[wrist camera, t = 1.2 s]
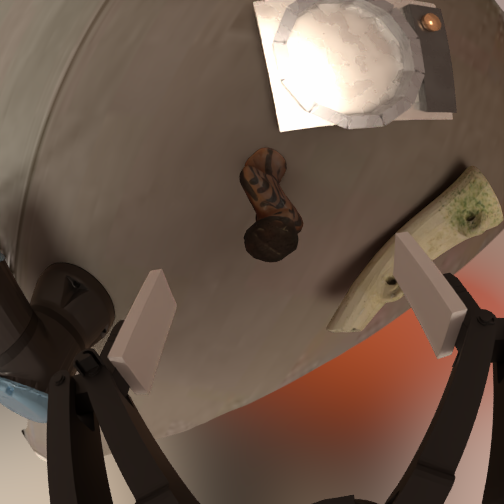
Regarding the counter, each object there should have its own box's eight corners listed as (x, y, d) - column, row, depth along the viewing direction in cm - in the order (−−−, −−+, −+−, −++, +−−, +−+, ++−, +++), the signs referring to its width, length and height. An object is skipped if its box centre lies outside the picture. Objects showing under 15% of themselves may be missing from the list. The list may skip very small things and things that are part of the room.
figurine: (305, 180, 35) (342, 262, 19) (273, 207, 36) (284, 305, 21) (261, 134, 32) (263, 179, 16) (229, 164, 34) (202, 235, 18)
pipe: (460, 153, 31) (507, 177, 23) (482, 196, 34) (524, 227, 25) (313, 286, 42) (324, 337, 34) (347, 315, 45) (362, 364, 36)
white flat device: (278, 129, 32) (282, 137, 26) (253, 10, 25) (252, -7, 19) (435, 116, 29) (464, 124, 24) (418, 8, 22) (445, -2, 17)
